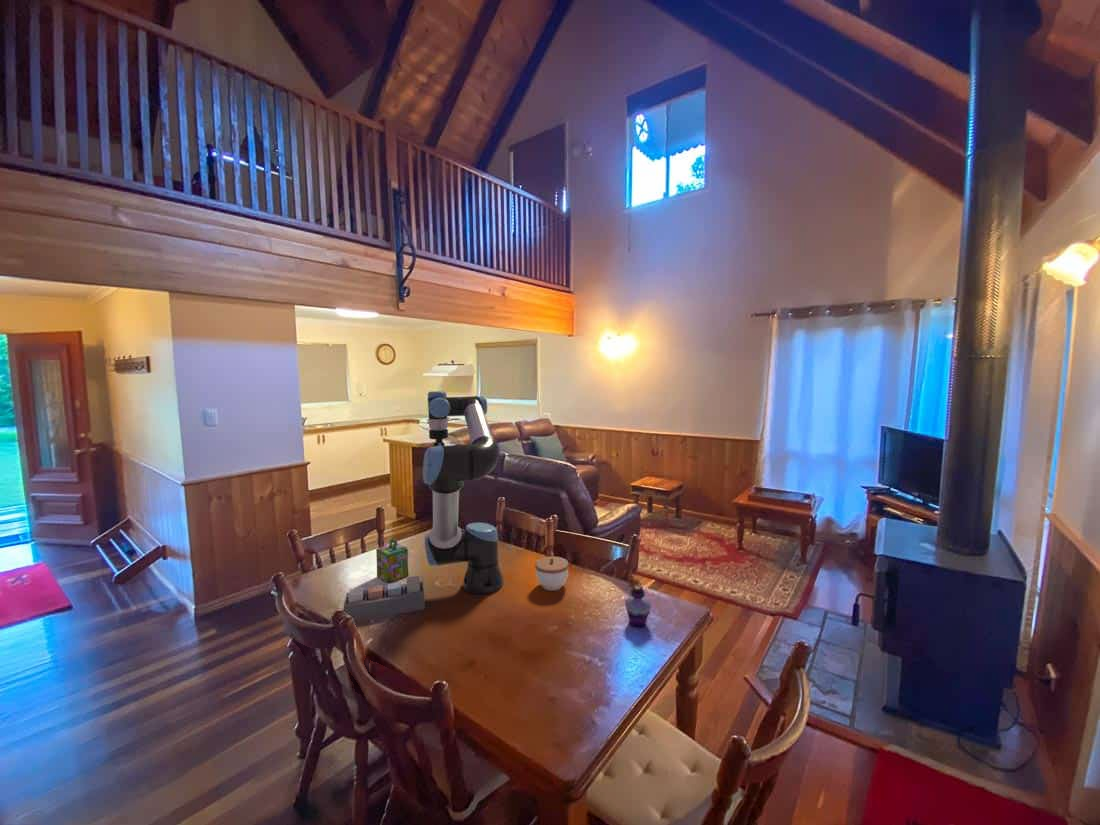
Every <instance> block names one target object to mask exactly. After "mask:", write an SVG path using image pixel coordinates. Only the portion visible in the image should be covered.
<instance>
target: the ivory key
mask: <svg viewBox="0 0 1100 825" xmlns="http://www.w3.org/2000/svg"><path fill="white" fill-rule="evenodd" d="M363 590H364V587H359V588H352V589H348V593H349V594H348V603H351V602H358V601H364V591H363Z"/></svg>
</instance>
